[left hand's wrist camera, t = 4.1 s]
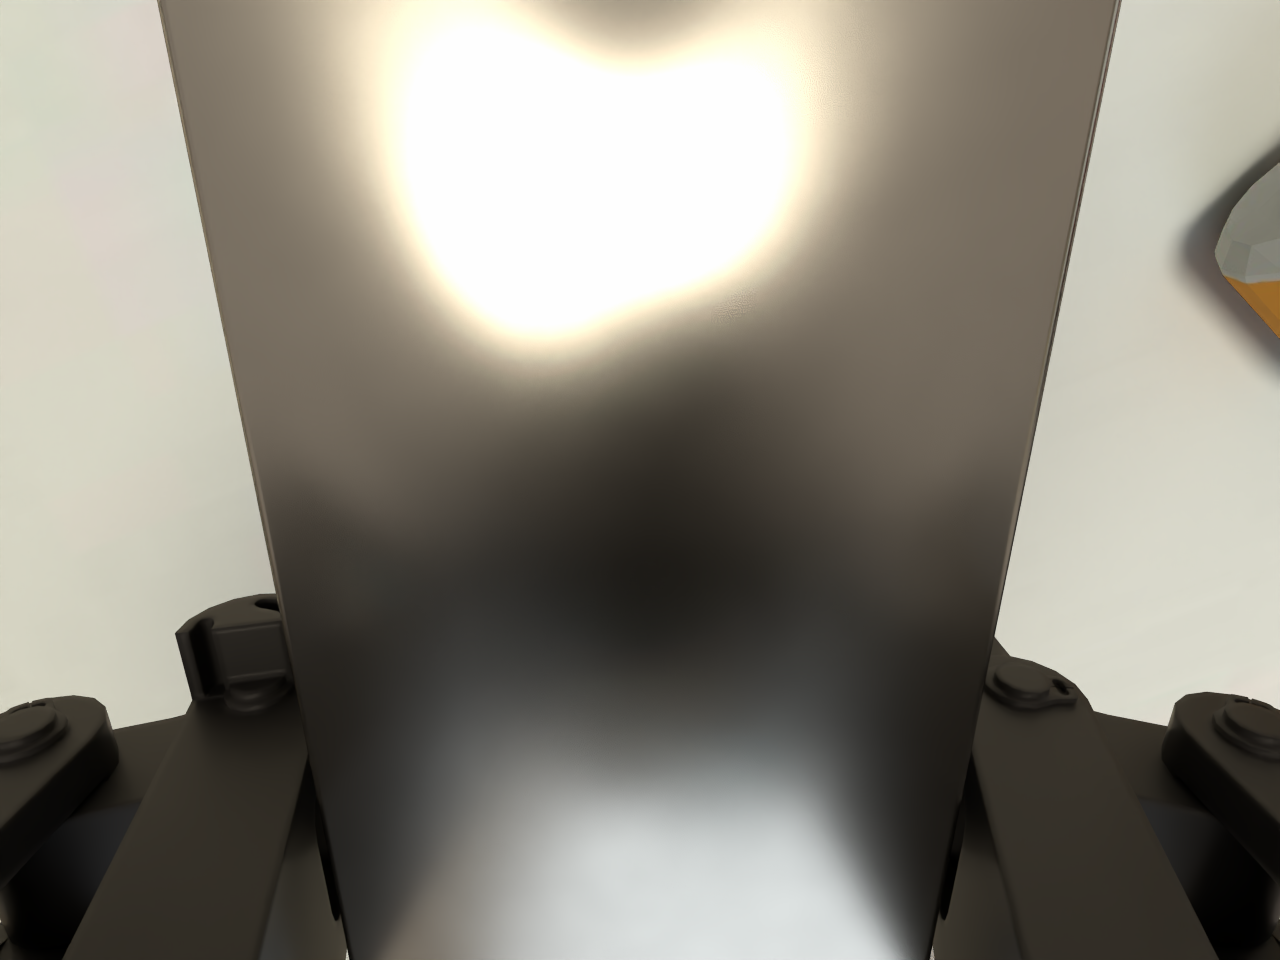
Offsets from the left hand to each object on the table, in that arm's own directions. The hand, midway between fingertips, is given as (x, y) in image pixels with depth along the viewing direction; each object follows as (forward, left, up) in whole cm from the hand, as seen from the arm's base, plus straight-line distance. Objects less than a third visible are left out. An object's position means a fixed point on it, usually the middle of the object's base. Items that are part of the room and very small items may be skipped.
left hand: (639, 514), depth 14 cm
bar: (+11, +7, -1) cm, 13 cm away
